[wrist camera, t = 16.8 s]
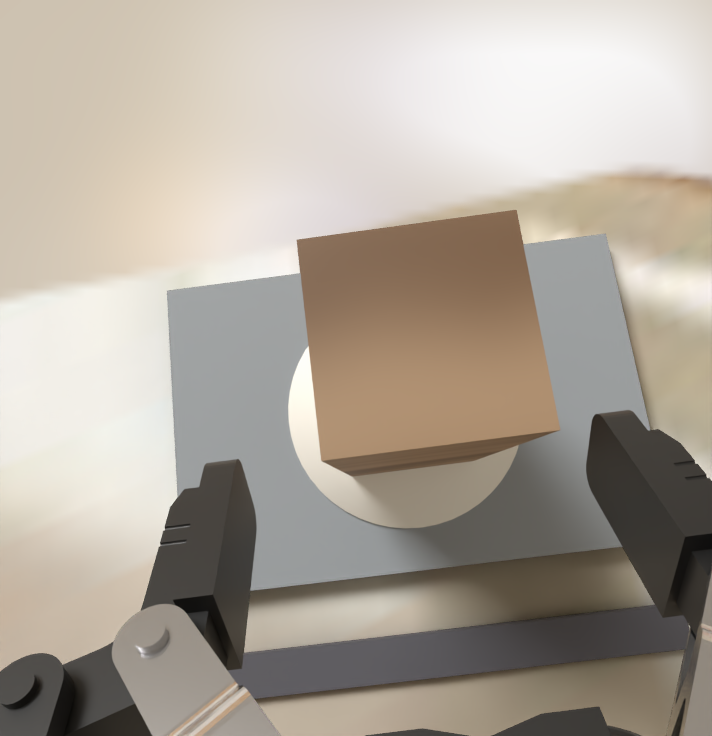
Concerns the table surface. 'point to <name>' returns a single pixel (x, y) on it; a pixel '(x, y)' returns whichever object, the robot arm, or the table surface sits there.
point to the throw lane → (409, 478)
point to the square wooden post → (424, 344)
